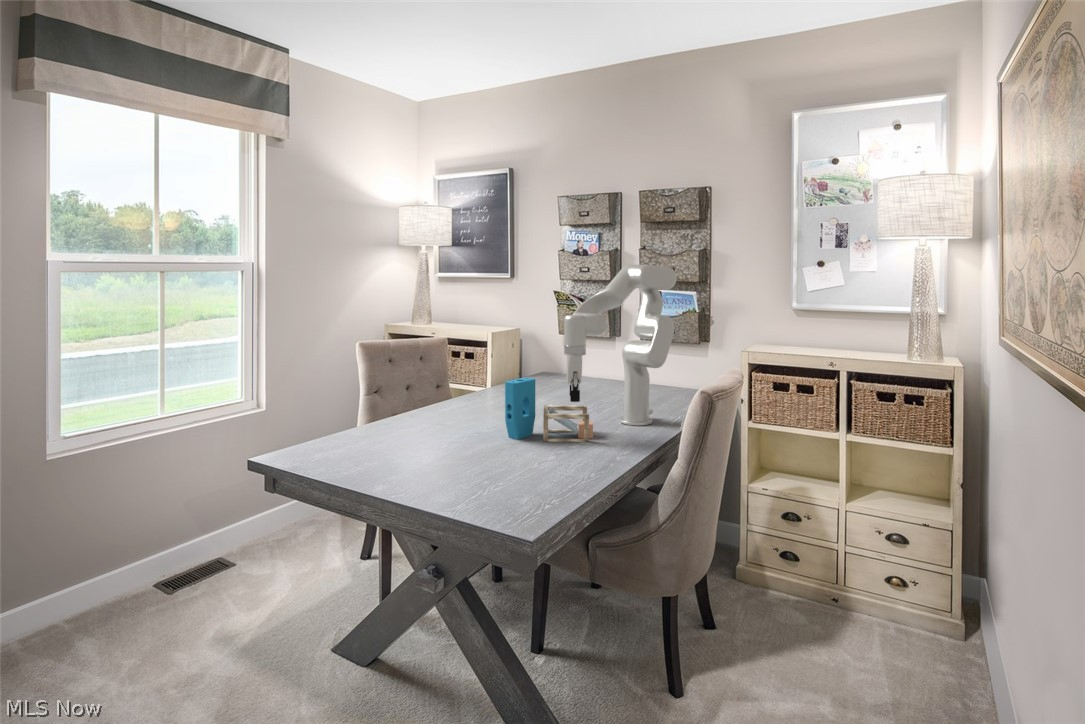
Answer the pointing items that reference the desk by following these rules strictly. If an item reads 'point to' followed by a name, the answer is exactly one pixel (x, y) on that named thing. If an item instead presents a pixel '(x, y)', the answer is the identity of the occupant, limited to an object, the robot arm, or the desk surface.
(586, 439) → the frame
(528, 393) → the block
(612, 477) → the desk surface
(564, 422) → the trapdoor plate
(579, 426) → the terracotta block
